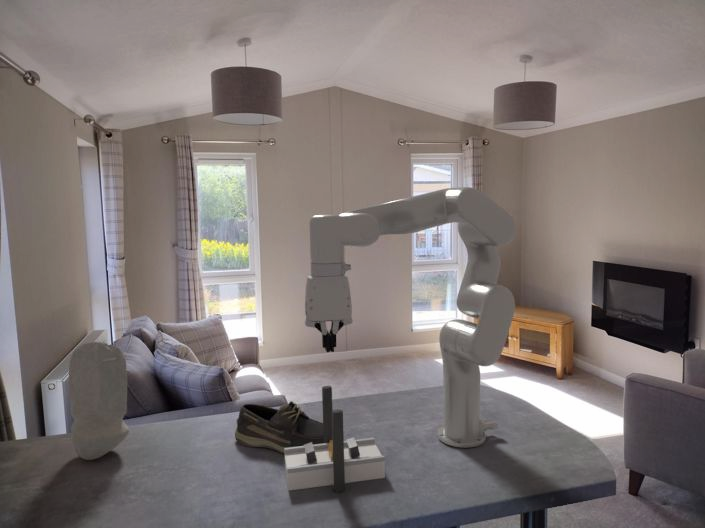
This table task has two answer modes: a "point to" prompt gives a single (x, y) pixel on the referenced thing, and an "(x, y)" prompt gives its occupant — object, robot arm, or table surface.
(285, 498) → the table surface
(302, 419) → the boat shoe
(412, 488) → the table surface
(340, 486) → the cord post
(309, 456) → the grey block
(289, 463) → the breaker panel
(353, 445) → the grey block
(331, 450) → the rectangular block
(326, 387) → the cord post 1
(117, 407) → the sculpture
